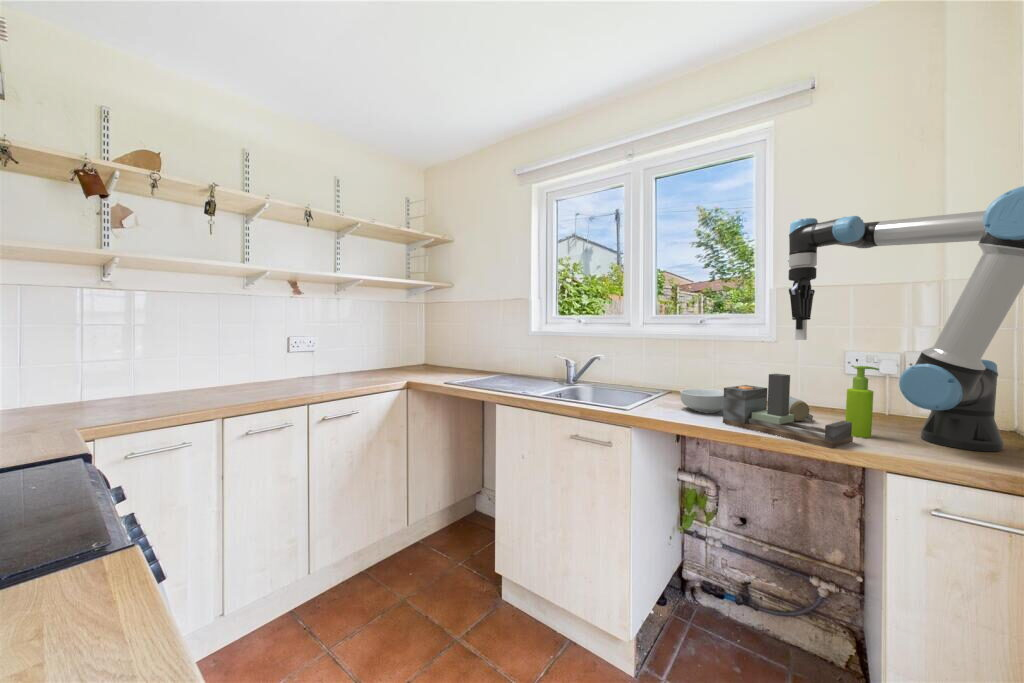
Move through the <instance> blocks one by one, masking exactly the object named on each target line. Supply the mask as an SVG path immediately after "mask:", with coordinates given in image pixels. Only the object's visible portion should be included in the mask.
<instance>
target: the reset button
mask: <svg viewBox="0 0 1024 683" xmlns="http://www.w3.org/2000/svg"><path fill="white" fill-rule="evenodd" d="M738 386H739V388H741V389H748V390H750V389H753V387H748V386H742V385H738Z"/></svg>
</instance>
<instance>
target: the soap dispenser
mask: <svg viewBox="0 0 1024 683" xmlns="http://www.w3.org/2000/svg"><path fill="white" fill-rule="evenodd" d="M853 369H855V370H856V376H854V377H852V388H851V387H850V388H847V389H846V400H845V402H846V403H845V404H846V405H845V421H847V422H852V432H851V436H853V438H860V437H861V439H870V438H872V428H873V412H874V411H873V408H874V407H873V406H874V390H871V389H869V378H868V377H866V376H865V372H866V370H875V371H879V370H880V368H877V367H874V366H867V365H860V366H859V365H857V366H853Z"/></svg>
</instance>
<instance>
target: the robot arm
mask: <svg viewBox="0 0 1024 683" xmlns="http://www.w3.org/2000/svg"><path fill="white" fill-rule="evenodd" d="M788 239H789V240H788V241H789V246H788V247H789V251H788V252H789V254H788V255H789V256H788V259H787V262H788V268H790V269H789V270H788V280H789V281H791V282H792V281H793V282H792V288H791V287H789V288H788V293H789V299H790V307H791V308H790V309H791V317H792V318H791V320H792V321H793V320H794V321H795V327H794V328H795V331H794V332H795V335H794V340H795V341H796V340H797V341H800V340H801V341H807V339H808V336H807V335H808V334H807V332H808V324H807V323H808V321H810V320H811V315H812V308H813V301H814V295H815V292H816V291H815V289H812V284H811V283H812V282H811V281H812V280H816V279H817V265H818V248H822V247H826V246H827V247H828V246H834V245H835V246H844V247H854V248H858V249H871V248H874V247H875V248H876V247H889V246H890V247H891V246H903V245H905V246H907V245H908V246H909V245H924V244H925V245H927V244H943V243H944V244H948V243H965V242H978V244H977V245H978V246H979V248H980V249H981V251H982V254H981V257H980V258H979V260H978V262H977V264H976V266H975V267H974V270H973V271H972V273H971V275H970V277H969V279H968V281H967V283H966V285H965V286H964V289H963V290H962V292H961V294H960V296H959V298H958V299H957V302H956V304H955V305H954V307H953V310H952V312H950V315H949V317H948V318H947V320H946V322H945V325H944V326H943V328H942V330H941V331H940V333H939V336H938V337H937V339H936V340H935V343H934V345H933V346H931V347H928V348H925V349H922V351H921V353H920V355H919V356H918V357H917V360H916V362H915V363H914V365H910V366H909V367H908V368H907V369H905V370H904V371H903V372H902V373H901V375H900V376H899V380H898V386H899V389H900V392H901V393H902V395H903V397H904V398H905V399H906V401H908V402H909V403H911V404H912V405H913V406H916V407H918V408H921V409H923V410H928V411H930V413H929V415H928V417H927V418H926V421H925V422H924V425H923V426H922V427H921V431H920V432H921V433H920V438H921V439H922V440H924V441H926V442H930V443H931V444H932V443H933V444H936V445H941V446H944V447H945V446H946V447H950V448H956V449H962V450H968V451H978V452H1002V451H1003V449H1004V440H1003V437H1002V435H1001V432H1000V430H999V428H998V425H997V423H996V420H995V416H996V415H995V412H996V400H997V385H998V376H999V371H998V364H997V363H996V362H995V361H992V360H988V359H982V358H983V356H984V355H985V352H986V351H987V349H988V348H989V346H990V344H991V342H992V340H993V339H994V337H995V336H996V334H997V332H998V330H999V328H1000V327H1001V326H1002V323H1003V322H1004V320H1005V318H1006V316H1007V315H1008V313H1009V311H1010V310H1011V308H1012V306H1013V305H1014V302H1015V301H1016V300H1017V298H1018V296H1019V294H1020V292H1021V291H1022V289H1023V287H1024V185H1023V186H1019V187H1016V188H1013V189H1011V190H1009V191H1007V192H1004V193H1003V194H1001V195H999V196H998V197H997V198H995V199H994V200H993V201H992V202H991V203H990V204H989V205H988V206H987V208H986V210H982V211H981V210H979V211H971V212H961V213H951V214H941V215H930V216H920V217H919V216H917V217H910V218H901V219H889V220H880V221H870V222H864V220H863V219H861V217H860V216H858V215H851V216H843V217H840V218H836V219H831V220H827V221H822V222H818V219H817V218H814V217H804V218H801V219H800V218H799V219H796V220H793V221H792V222H791V223H790V225H789V233H788Z"/></svg>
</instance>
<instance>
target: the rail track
mask: <svg viewBox="0 0 1024 683" xmlns="http://www.w3.org/2000/svg"><path fill="white" fill-rule="evenodd" d="M739 386H740V385H735V386H726V387H723V391H724V400H723V409H722V424H723V423H725V424H724V425H728V424H729V425H728V426H732V425H733V426H732V427H736V426H737V427H736V428H741V427H742V428H741V429H745V428H746V430H749V429H751V430H750V431H754V430H755V432H758V431H760V432H759V433H762V432H763V434H767V433H768V435H771V434H772V436H775V435H777V436H776V437H780V436H781V438H784V437H785V438H784V439H788V438H790V440H793V439H794V441H797V440H798V442H802V443H807V444H811V445H814V446H820V447H822V448H823V447H824V448H828V449H835V448H836V447H837V446H838V447H840V445H841V446H843V445H846V444H850V442H851V443H853V441H854V436H851V432H852V422H847V421H846V420H841V421H836V422H833V423H829V424H826V425H825V428H824V427H820V426H815V425H809V424H806V423H805V424H804V423H800V422H796V421H793V422H789V423H784V424H780V425H779V424H774V423H769V422H764V421H759V420H755V419H752V412H757V411H762V410H767V409H768V387H762V386H756V385H755V386H754V385H748V384H743V385H741V386H748V387H753V389H750V390H748V389H741V388H739Z"/></svg>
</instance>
